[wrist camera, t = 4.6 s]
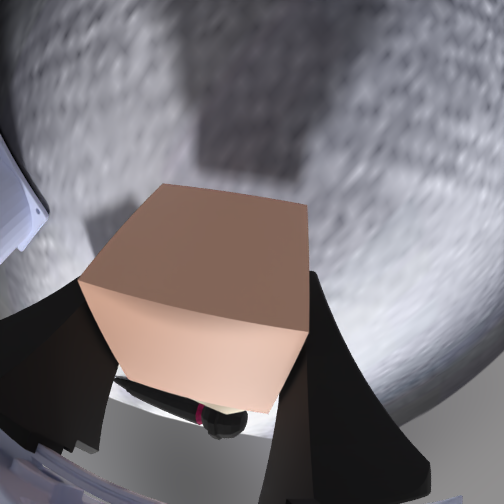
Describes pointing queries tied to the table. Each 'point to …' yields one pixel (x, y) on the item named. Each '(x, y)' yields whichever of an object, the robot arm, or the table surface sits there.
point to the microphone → (189, 410)
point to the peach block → (205, 294)
